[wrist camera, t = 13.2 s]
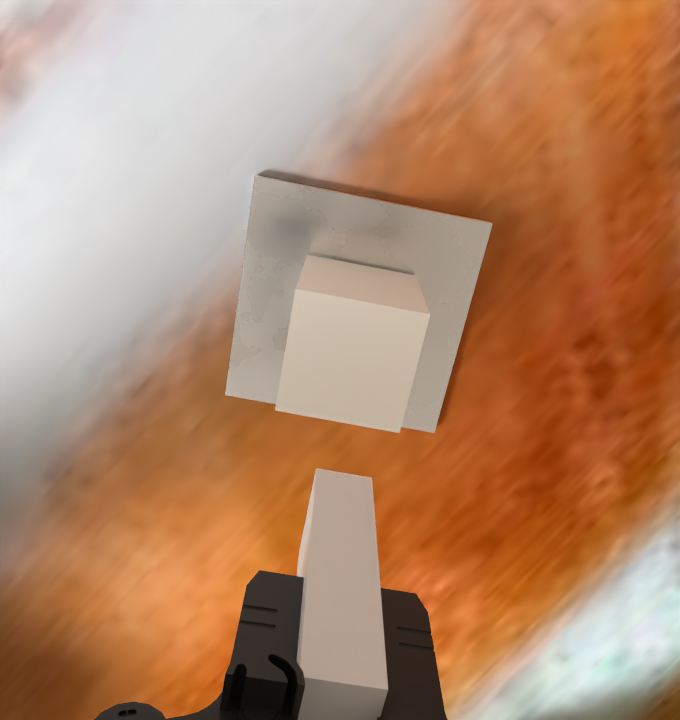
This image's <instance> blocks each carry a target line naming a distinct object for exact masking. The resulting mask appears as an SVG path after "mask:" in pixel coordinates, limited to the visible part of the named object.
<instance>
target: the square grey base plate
mask: <svg viewBox="0 0 680 720" xmlns="http://www.w3.org/2000/svg"><path fill="white" fill-rule="evenodd" d="M492 225H493V223H491V222H489V221H484V220H479V219H474V218H469V217H464V216H459V215H454V214H449V213H444V212H439V211H434V210H429V209H424V208H419V207H414V206H409V205H404V204H399V203H394V202H389V201H384V200H379V199H374V198H369V197H364V196H359V195H354V194H349V193H344V192H339V191H334V190H329V189H324V188H319V187H314V186H309V185H304V184H299V183H294V182H289V181H284V180H279V179H274V178H269V177H264V176H259V175H256V176H255V177H254V184H253V192H252V199H251V207H250V214H249V222H248V229H247V236H246V244H245V251H244V259H243V266H242V273H241V281H240V288H239V296H238V303H237V311H236V318H235V325H234V333H233V340H232V348H231V355H230V363H229V370H228V377H227V385H226V392H225V395H227V396H233V397H238V398H244V399H249V400H255V401H260V402H266V403H271V404H276V401H277V395H278V389H279V383H280V378H281V372H282V366H283V360H284V354H285V348H286V342H287V336H288V330H289V325H290V319H291V313H292V307H293V301H294V295H295V289H296V286H297V283H298V280H299V277H300V274H301V271H302V268H303V265H304V262H305V260H306V257H307V255H313V256H318V257H323V258H328V259H333V260H338V261H343V262H349V263H354V264H359V265H364V266H369V267H374V268H379V269H385V270H390V271H395V272H400V273H405V274H410V275H416V278H417V280H418V283H419V286H420V288H421V291H422V294H423V296H424V299H425V302H426V304H427V307H428V310H429V312H430V317H429V321H428V325H427V329H426V333H425V337H424V341H423V345H422V349H421V352H420V356H419V360H418V364H417V368H416V372H415V376H414V380H413V384H412V388H411V391H410V395H409V399H408V403H407V407H406V411H405V415H404V419H403V423H402V426H401V427H404V428H409V429H415V430H420V431H426V432H431V433H434V432H435V429H436V425H437V422H438V418H439V414H440V411H441V407H442V404H443V400H444V397H445V393H446V389H447V386H448V382H449V379H450V375H451V372H452V368H453V364H454V361H455V357H456V354H457V350H458V347H459V343H460V339H461V336H462V332H463V329H464V325H465V321H466V318H467V314H468V311H469V307H470V304H471V300H472V296H473V293H474V289H475V286H476V282H477V279H478V275H479V271H480V268H481V264H482V261H483V257H484V253H485V250H486V246H487V243H488V239H489V236H490V232H491V228H492Z"/></svg>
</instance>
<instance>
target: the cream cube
mask: <svg viewBox="0 0 680 720" xmlns="http://www.w3.org/2000/svg"><path fill="white" fill-rule="evenodd" d="M429 317H430V312H429V310H428V307H427V304H426V302H425V299H424V296H423V294H422V291H421V288H420V286H419V283H418V280H417V278H416V275H410V274H405V273H400V272H395V271H390V270H385V269H379V268H374V267H369V266H364V265H359V264H354V263H349V262H343V261H338V260H333V259H328V258H323V257H318V256H313V255H307V257H306V260H305V262H304V265H303V268H302V271H301V274H300V277H299V280H298V283H297V286H296V289H295V295H294V301H293V307H292V313H291V319H290V325H289V330H288V336H287V342H286V348H285V354H284V360H283V366H282V372H281V378H280V383H279V389H278V395H277V401H276V407H275V411H280V412H286V413H292V414H297V415H303V416H308V417H314V418H319V419H325V420H330V421H336V422H341V423H347V424H352V425H358V426H363V427H369V428H374V429H380V430H385V431H391V432H396V433H400V430H401V426H402V423H403V419H404V415H405V411H406V407H407V403H408V399H409V395H410V391H411V388H412V384H413V380H414V376H415V372H416V368H417V364H418V360H419V356H420V352H421V349H422V345H423V341H424V337H425V333H426V329H427V325H428V321H429Z"/></svg>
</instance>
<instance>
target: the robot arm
mask: <svg viewBox="0 0 680 720" xmlns="http://www.w3.org/2000/svg"><path fill="white" fill-rule="evenodd" d="M433 650H434V646H433V640H432V636H431V628H430V622H429V616H428V612H427V610H426V609H425V607H424V606H423V604H422V602H421V601H420V599H419V598H418V596H417V595H416V594H415V593H408V592H402V591H396V590H390V589H383V588H380V576H379V562H378V549H377V536H376V523H375V510H374V497H373V484H372V478H371V477H365V476H360V475H354V474H348V473H342V472H336V471H330V470H324V469H318V468H316V472H315V477H314V482H313V487H312V492H311V496H310V501H309V506H308V511H307V516H306V521H305V526H304V531H303V536H302V541H301V545H300V550H299V558H298V568H297V576H292V575H285V574H279V573H273V572H267V571H259V572H258V573H257V574H256V575H255V576H254V578H253V579H252V580H251V581H250V582H249V583H248V585H247V587H246V592H245V597H244V601H243V606H242V611H241V615H240V620H239V625H238V630H237V634H236V639H235V644H234V649H233V653H232V658H231V663H230V665H229V667H228V670H227V672H226V674H225V680H224V686H223V691H222V693H221V694H220V696H219V697H218V698H217V699H216V700H215V701H214V702H213V703H212V704H211V705H209V706H208V707H206V708H205V709H203V710H201V711H199V712H197V713H193V714H189V715H186V716H180V717H174V718H168V719H165V717H164V715H163V714H162V712H160V711H159V710H157V709H155V708H154V707H152V706H151V705H149V704H143V703H138V702H129V703H123V704H117V705H115V706H113V707H111V708H109V709H107V710H105V711H103V712H102V713H100V714H99V715H98V716H97V717H96V718H95V719H94V720H447V718H446V714H445V711H444V705H443V699H442V693H441V688H440V682H439V676H438V670H437V664H436V658H435V652H434V651H433Z"/></svg>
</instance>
